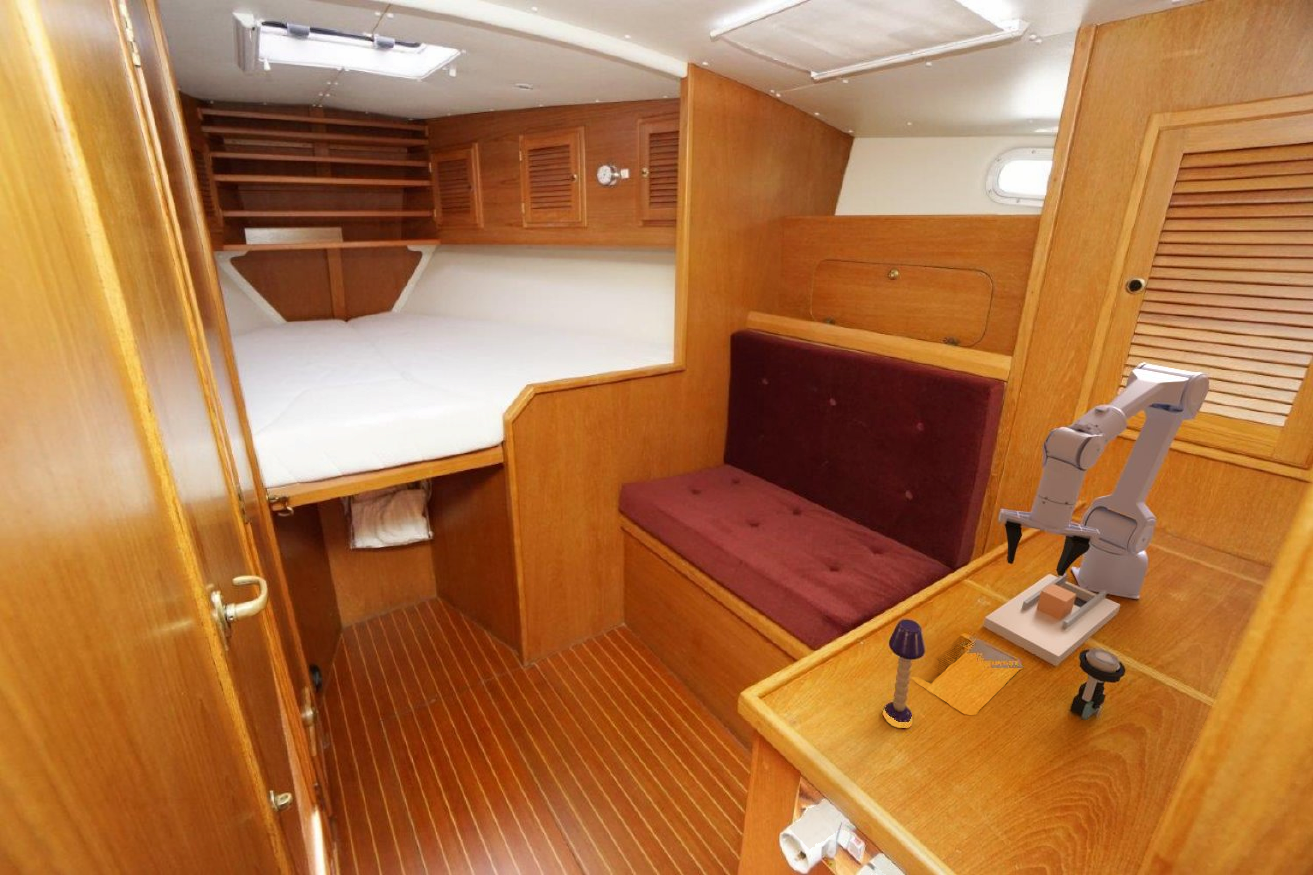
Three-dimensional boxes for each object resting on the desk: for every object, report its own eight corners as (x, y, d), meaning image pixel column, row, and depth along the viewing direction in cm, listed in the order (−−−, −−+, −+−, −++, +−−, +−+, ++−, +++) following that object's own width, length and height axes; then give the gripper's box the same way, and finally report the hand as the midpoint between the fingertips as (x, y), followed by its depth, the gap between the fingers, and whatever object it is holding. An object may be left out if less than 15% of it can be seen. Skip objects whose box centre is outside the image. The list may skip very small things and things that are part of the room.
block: (1047, 601, 106) (1052, 583, 105) (1071, 612, 103) (1076, 594, 102) (1036, 608, 104) (1041, 590, 103) (1060, 620, 101) (1066, 601, 100)
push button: (1080, 688, 89) (1096, 636, 86) (1120, 711, 85) (1139, 657, 81) (1057, 705, 86) (1073, 652, 83) (1097, 730, 82) (1116, 675, 78)
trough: (1047, 582, 115) (1051, 567, 114) (1117, 613, 106) (1122, 597, 105) (983, 626, 103) (986, 610, 102) (1056, 666, 94) (1061, 649, 92)
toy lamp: (893, 734, 82) (910, 640, 76) (870, 710, 86) (885, 619, 80) (919, 723, 83) (937, 630, 77) (895, 700, 87) (911, 610, 82)
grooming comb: (964, 633, 102) (964, 629, 102) (1026, 666, 94) (1027, 662, 94) (907, 681, 92) (908, 677, 91) (971, 722, 84) (972, 718, 84)
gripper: (1010, 495, 97) (990, 565, 101) (1113, 516, 91) (1088, 590, 95) (1005, 482, 103) (987, 548, 107) (1102, 501, 97) (1078, 570, 101)
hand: (1034, 567), depth 102 cm, fingers open, 7 cm apart
